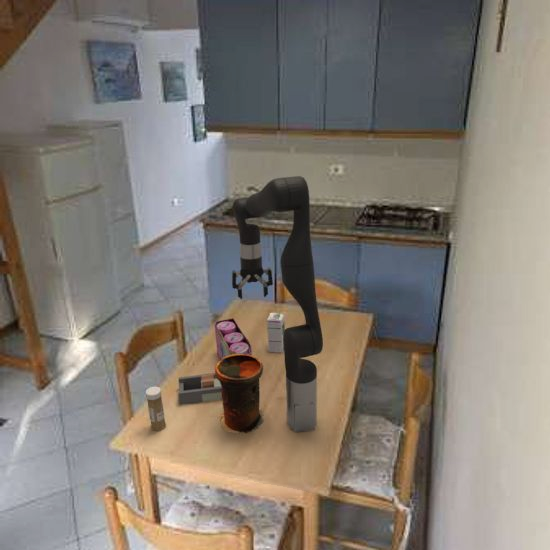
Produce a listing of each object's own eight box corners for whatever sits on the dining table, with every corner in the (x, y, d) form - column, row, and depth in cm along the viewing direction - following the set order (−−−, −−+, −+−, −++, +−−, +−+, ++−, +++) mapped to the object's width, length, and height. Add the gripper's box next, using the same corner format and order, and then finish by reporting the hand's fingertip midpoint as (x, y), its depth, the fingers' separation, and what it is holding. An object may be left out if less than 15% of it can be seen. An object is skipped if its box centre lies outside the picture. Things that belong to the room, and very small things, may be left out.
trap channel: (244, 396, 166) (243, 385, 164) (179, 404, 162) (178, 393, 161) (241, 380, 174) (240, 369, 172) (179, 388, 171) (178, 377, 169)
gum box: (255, 381, 174) (253, 348, 168) (234, 387, 171) (231, 353, 166) (236, 347, 194) (233, 317, 189) (216, 352, 192) (213, 321, 186)
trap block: (214, 388, 166) (213, 380, 164) (202, 389, 165) (201, 382, 164) (213, 381, 169) (213, 373, 168) (202, 382, 169) (201, 375, 167)
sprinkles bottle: (166, 429, 152) (161, 393, 146) (151, 432, 150) (145, 396, 145) (165, 420, 156) (160, 384, 150) (150, 423, 155) (145, 387, 149)
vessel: (234, 399, 164) (231, 348, 156) (271, 412, 158) (271, 359, 150) (209, 425, 153) (205, 371, 145) (249, 440, 147) (247, 385, 138)
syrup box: (282, 353, 190) (282, 320, 184) (267, 352, 191) (266, 318, 186) (285, 345, 195) (284, 313, 190) (271, 344, 196) (269, 312, 191)
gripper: (230, 259, 166) (234, 303, 172) (272, 256, 168) (274, 299, 174) (229, 252, 173) (232, 294, 179) (269, 249, 175) (271, 291, 181)
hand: (253, 297), depth 176 cm, fingers open, 8 cm apart
